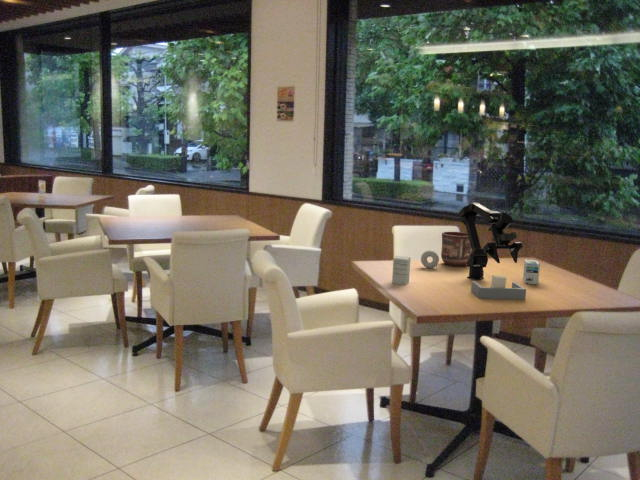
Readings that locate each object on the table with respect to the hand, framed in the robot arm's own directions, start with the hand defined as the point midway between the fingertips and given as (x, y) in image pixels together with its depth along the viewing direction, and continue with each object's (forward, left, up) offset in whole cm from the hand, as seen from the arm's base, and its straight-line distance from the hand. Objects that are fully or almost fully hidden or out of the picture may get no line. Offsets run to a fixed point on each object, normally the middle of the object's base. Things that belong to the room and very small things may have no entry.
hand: (507, 262), depth 298 cm
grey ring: (-55, +13, -14) cm, 58 cm away
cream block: (+2, -10, -14) cm, 17 cm away
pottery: (-53, +35, -14) cm, 65 cm away
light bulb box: (-4, +31, -14) cm, 34 cm away
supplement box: (-41, -28, -14) cm, 52 cm away
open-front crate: (+2, -10, -14) cm, 17 cm away
